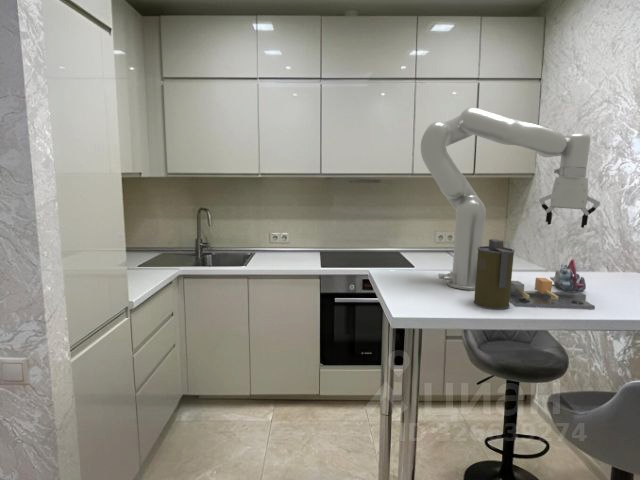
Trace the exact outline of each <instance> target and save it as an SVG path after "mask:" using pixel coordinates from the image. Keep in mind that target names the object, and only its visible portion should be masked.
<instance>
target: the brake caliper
mask: <svg viewBox="0 0 640 480" xmlns="http://www.w3.org/2000/svg"><path fill="white" fill-rule="evenodd" d="M554 274H555V275H554V276H553V275H552V276H550V277H549V280H550V281H552V283H554V284H552V287H557V288H559V289H561V290H562V291H563V292H571V293H583V292H584V291H586V287H587V286H586V279H585V277H584V276H580V273H578V272H577V268H576V261H575V259H574V258H572V259H571V260H570V262H569V263H568V264H561V265H560V269H559V268H558V269H556V271H555V273H554Z"/></svg>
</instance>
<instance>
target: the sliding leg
mask: <svg viewBox="0 0 640 480" xmlns="http://www.w3.org/2000/svg"><path fill="white" fill-rule="evenodd" d="M552 285H553V281H552V280H551V279H548V278H546V277H535V284H534V291H538V292H540V293H541V294H548V295H550V296H551V301H555V299H558V298H559V297H558V296H557V295H555V294H553V293H551V292H552V289H553V286H552Z"/></svg>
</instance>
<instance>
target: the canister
mask: <svg viewBox="0 0 640 480" xmlns="http://www.w3.org/2000/svg"><path fill="white" fill-rule="evenodd" d="M504 243H505V242H504V240H500V239H491V238H490V239H488V245H483V246H481V247H478V248H477V249H478V259H477V271H476V283H475V290H474V295H473V296H474V299H473V304H474V305H476V306H477V307H481V308H483V309H488V310H497V311H498V310H506V309H510V306H511V305H510V301H509V300H510V289H511V281H512V278H513V277H512V275H513V265H514V255H515V249H513V248H509V247H504Z"/></svg>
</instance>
